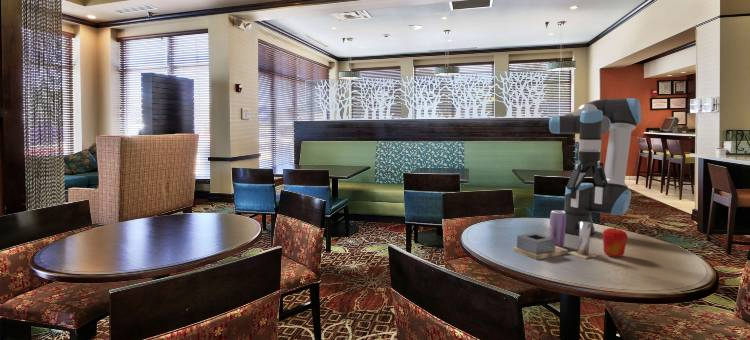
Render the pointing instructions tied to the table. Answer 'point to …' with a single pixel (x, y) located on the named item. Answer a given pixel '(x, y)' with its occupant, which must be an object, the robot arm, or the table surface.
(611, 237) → the apple
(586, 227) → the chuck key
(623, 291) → the table surface
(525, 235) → the socket block
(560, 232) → the beverage can
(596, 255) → the cork coaster
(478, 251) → the table surface
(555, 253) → the oak board
